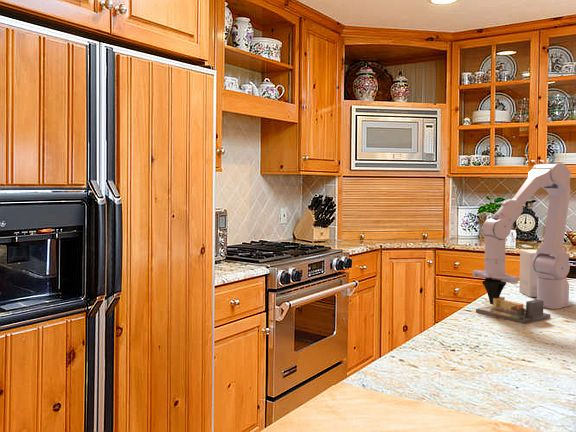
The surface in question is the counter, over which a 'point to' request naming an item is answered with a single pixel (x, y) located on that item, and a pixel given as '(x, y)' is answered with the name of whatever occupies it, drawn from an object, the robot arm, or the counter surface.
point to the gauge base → (530, 313)
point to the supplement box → (528, 273)
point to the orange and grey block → (520, 310)
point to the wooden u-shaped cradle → (504, 303)
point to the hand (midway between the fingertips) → (493, 304)
